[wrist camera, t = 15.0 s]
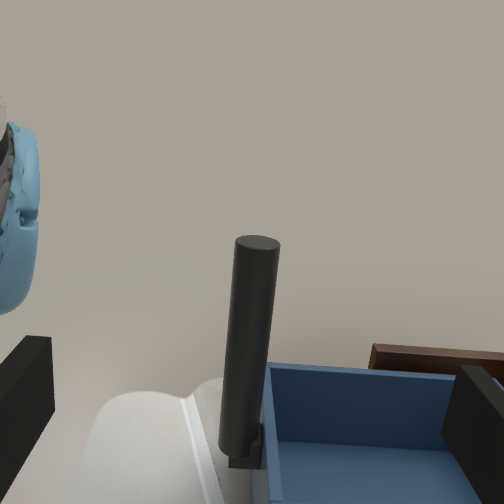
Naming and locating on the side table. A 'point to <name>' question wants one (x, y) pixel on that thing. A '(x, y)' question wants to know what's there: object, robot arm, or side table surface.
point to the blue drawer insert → (327, 414)
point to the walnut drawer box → (434, 360)
